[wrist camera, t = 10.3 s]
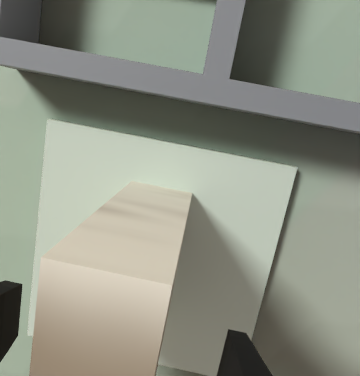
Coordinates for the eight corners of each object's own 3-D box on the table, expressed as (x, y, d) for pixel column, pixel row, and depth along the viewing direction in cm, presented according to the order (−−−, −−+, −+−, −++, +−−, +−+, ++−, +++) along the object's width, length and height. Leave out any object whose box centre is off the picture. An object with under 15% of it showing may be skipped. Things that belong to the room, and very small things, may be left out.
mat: (239, 375, 19) (239, 382, 18) (31, 329, 19) (27, 335, 19) (294, 165, 16) (297, 167, 15) (51, 118, 16) (47, 118, 16)
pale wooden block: (167, 319, 18) (125, 520, 9) (111, 307, 18) (17, 493, 9) (192, 192, 16) (172, 285, 7) (131, 180, 16) (40, 257, 7)
